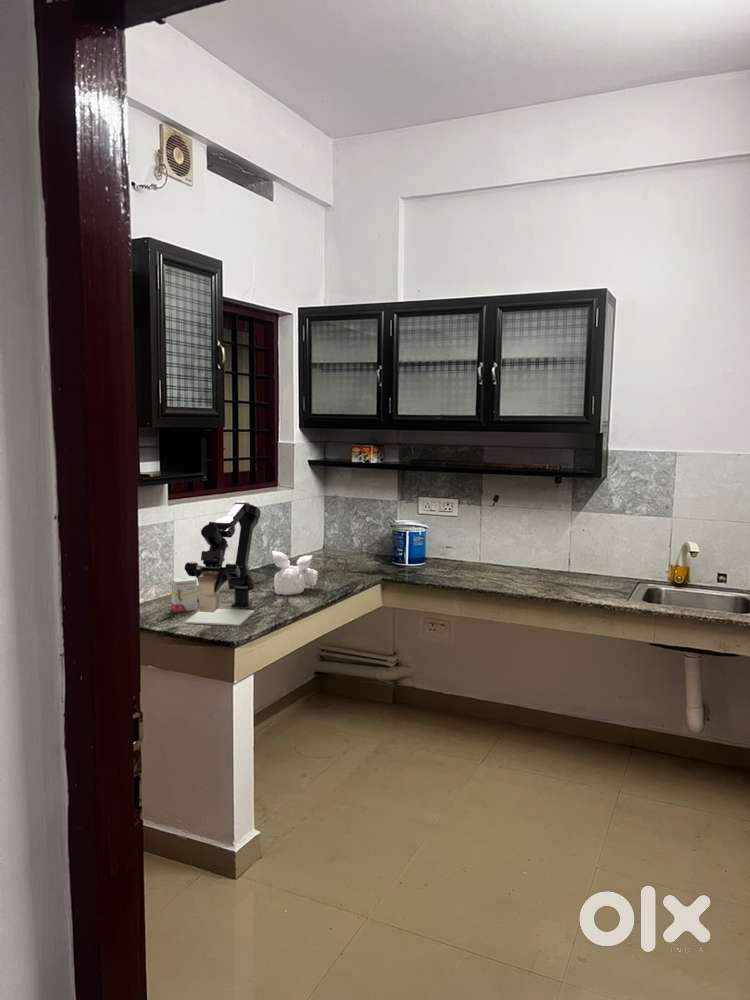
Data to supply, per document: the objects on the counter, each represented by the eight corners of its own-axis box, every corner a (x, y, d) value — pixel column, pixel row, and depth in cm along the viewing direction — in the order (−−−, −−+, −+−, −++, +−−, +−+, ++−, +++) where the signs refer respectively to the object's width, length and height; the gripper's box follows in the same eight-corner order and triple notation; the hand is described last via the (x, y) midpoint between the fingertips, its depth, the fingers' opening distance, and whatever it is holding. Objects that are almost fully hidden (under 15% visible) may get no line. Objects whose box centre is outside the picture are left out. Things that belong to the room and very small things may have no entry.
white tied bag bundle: (263, 575, 299) (274, 542, 314) (268, 609, 311) (278, 576, 327) (309, 579, 297) (318, 546, 313) (312, 613, 310) (320, 580, 325)
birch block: (205, 606, 261) (204, 572, 258) (219, 606, 260) (218, 572, 258) (199, 611, 255) (198, 577, 252) (213, 612, 254) (212, 577, 252)
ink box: (174, 612, 276) (174, 581, 274) (171, 609, 280) (170, 578, 279) (197, 609, 280) (197, 579, 279) (193, 606, 284) (193, 576, 283)
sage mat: (203, 609, 280) (203, 608, 280) (254, 611, 278) (254, 610, 278) (184, 623, 261) (184, 621, 261) (239, 625, 259) (239, 624, 259)
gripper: (184, 540, 258) (174, 579, 249) (236, 541, 256) (227, 581, 247) (194, 555, 267) (184, 594, 259) (244, 557, 265) (235, 596, 256)
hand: (207, 591), depth 255 cm, fingers closed on birch block, 5 cm apart
